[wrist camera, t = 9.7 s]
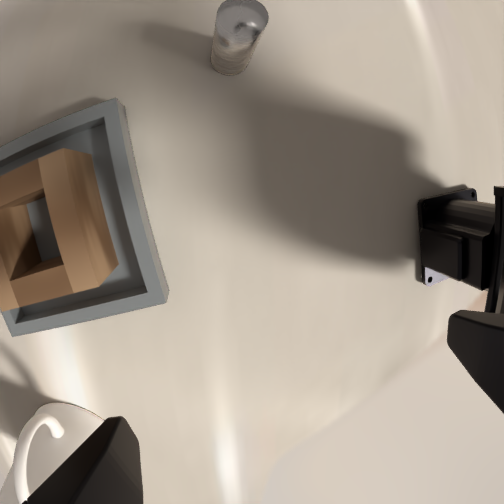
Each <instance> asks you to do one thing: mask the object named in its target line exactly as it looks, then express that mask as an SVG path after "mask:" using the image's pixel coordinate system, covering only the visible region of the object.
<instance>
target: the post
mask: <svg viewBox="0 0 504 504" xmlns="http://www.w3.org/2000/svg"><path fill="white" fill-rule="evenodd" d="M267 23H268V12H267V10H266V8H265V7H264V6H263V5H262V4H261V3H260V2H258V1H256V0H226V1H225V2H223V3H222V4H221V5H220V7H219V8H218V11H217V17H216V24H215V31H214V38H213V45H212V52H211V64H212V66H213V67H214V69H215V70H216V71H218V72H219V73H221V74H224V75H236V74H239V73H241V72H242V71H243V70H244V69H245V68H246V67H247V65H248V63H249V60H250V58H251V56H252V54H253V52H254V50H255V48H256V46H257V43H258V41H259V39H260V37H261V35H262V33H263V31H264V29H265V27H266V25H267Z"/></svg>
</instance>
